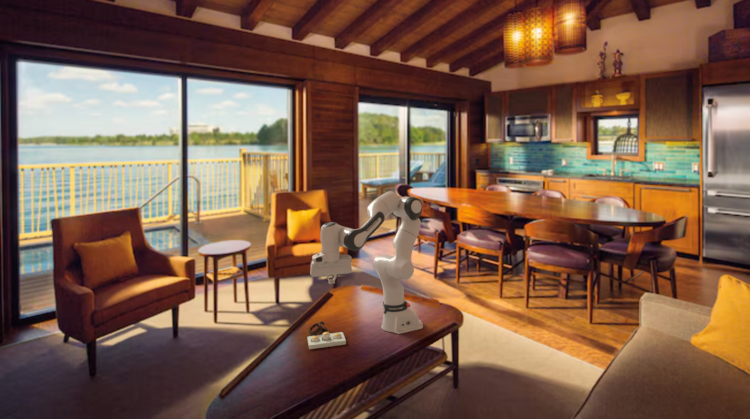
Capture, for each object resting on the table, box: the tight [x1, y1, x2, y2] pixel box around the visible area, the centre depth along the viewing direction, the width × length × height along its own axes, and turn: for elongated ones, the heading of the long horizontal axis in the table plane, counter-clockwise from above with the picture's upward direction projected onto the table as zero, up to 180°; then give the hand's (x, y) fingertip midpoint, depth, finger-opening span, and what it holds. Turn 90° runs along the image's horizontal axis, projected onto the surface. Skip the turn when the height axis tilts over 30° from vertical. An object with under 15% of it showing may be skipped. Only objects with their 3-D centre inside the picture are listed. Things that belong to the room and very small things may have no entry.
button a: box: [334, 332, 341, 339], centre depth 210 cm, size 4×4×3 cm
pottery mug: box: [308, 321, 329, 336], centre depth 219 cm, size 12×10×8 cm
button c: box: [311, 336, 319, 342], centre depth 207 cm, size 4×4×3 cm
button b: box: [321, 331, 331, 341], centre depth 208 cm, size 4×4×3 cm
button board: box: [306, 331, 347, 350], centre depth 209 cm, size 18×10×3 cm, turn 103°
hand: (331, 283), depth 205 cm, fingers closed
